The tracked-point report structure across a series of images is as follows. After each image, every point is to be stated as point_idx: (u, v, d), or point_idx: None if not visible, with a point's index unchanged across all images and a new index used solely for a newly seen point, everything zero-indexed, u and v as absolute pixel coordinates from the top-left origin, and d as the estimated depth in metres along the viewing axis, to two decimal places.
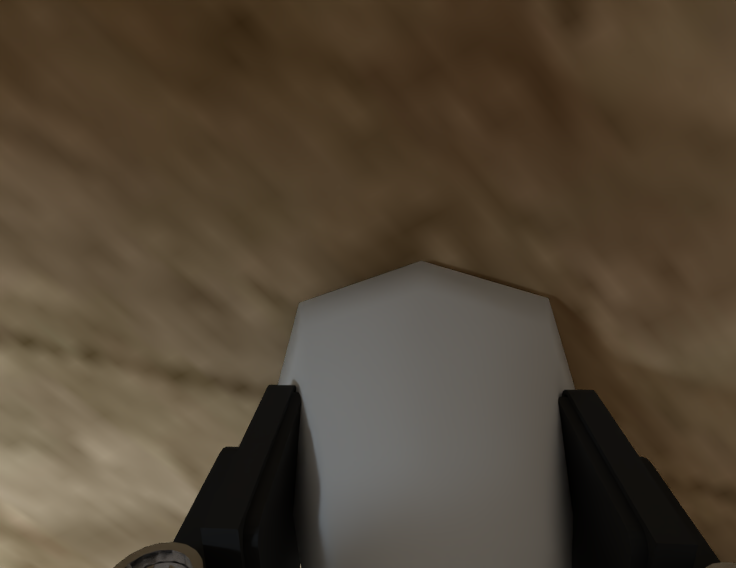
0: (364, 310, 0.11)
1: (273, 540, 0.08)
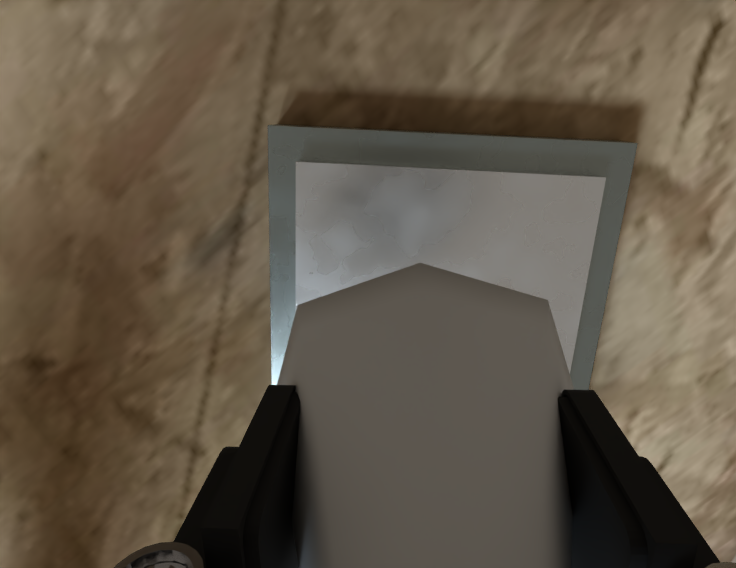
0: (362, 312, 0.11)
1: (273, 540, 0.08)
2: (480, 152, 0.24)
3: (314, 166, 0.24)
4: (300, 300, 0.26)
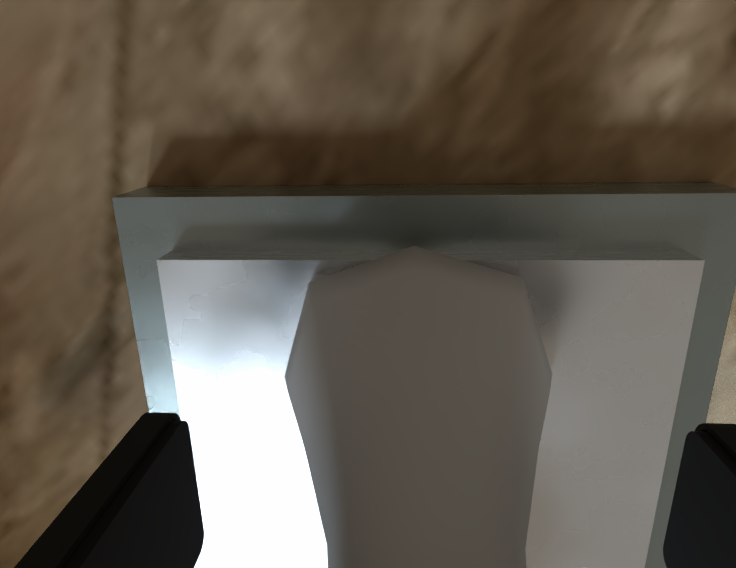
0: (364, 287, 0.13)
1: None
2: (475, 223, 0.14)
3: (189, 266, 0.14)
4: (196, 471, 0.16)
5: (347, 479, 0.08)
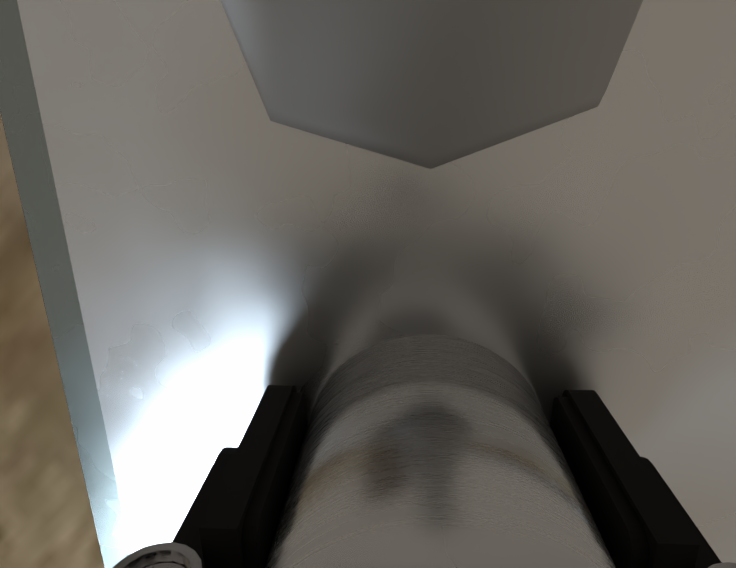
0: None
1: (272, 540, 0.08)
2: None
3: None
4: (65, 169, 0.10)
5: None
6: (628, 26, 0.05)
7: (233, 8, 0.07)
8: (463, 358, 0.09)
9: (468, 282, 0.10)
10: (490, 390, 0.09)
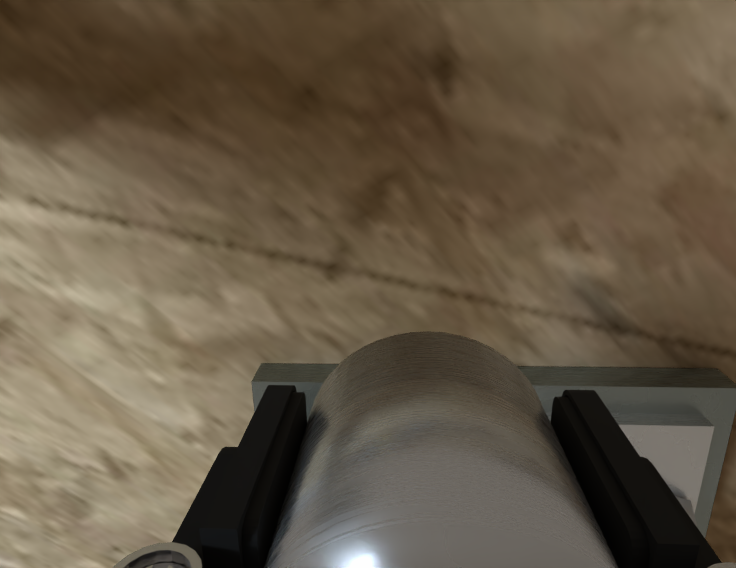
0: None
1: None
2: None
3: (706, 441, 0.25)
4: None
5: None
6: None
7: None
8: (463, 356, 0.09)
9: None
10: (490, 387, 0.09)
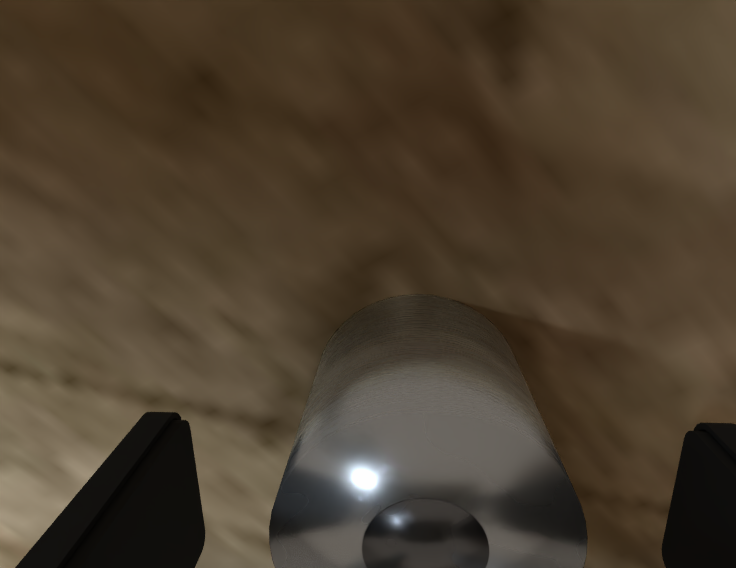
0: None
1: None
2: None
3: None
4: None
5: None
6: None
7: None
8: (447, 311, 0.11)
9: None
10: (467, 333, 0.10)
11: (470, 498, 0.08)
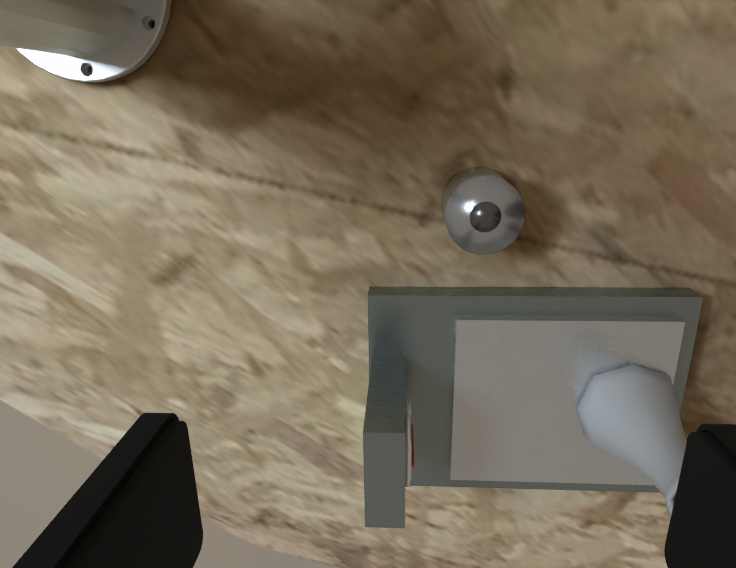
0: None
1: None
2: None
3: (680, 333, 0.37)
4: (586, 324, 0.38)
5: (686, 440, 0.33)
6: (614, 455, 0.37)
7: (621, 385, 0.37)
8: (486, 169, 0.36)
9: (546, 414, 0.40)
10: (493, 172, 0.36)
11: (496, 201, 0.33)
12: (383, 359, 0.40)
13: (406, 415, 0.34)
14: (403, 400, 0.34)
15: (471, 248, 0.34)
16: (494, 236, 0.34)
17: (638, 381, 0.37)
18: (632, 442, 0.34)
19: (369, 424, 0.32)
